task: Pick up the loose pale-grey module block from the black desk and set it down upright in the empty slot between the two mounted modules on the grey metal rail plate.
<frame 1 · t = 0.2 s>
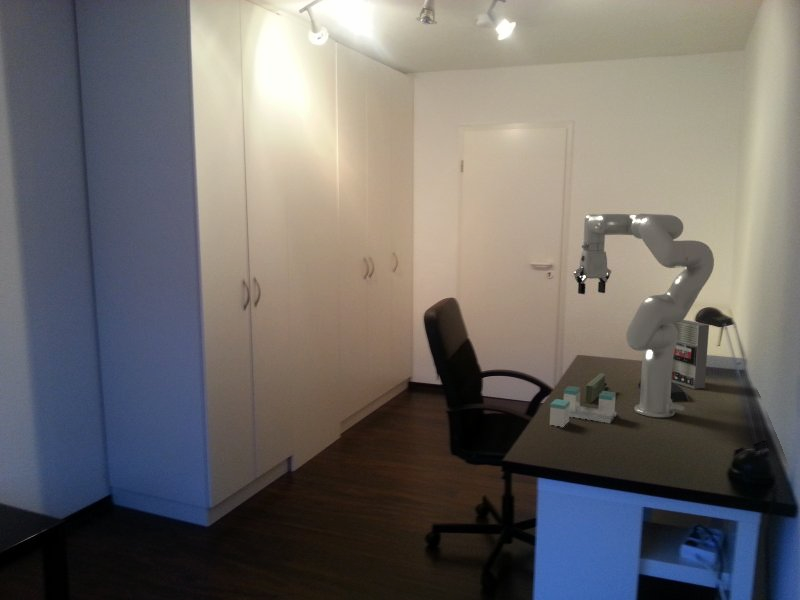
hand: (591, 293, 241), 37 cm above the table, tool pointing down, fingers open, 9 cm apart
external hard drive: (661, 395, 240), on the table
module block: (559, 423, 205), on the table
handheld radio: (596, 395, 239), on the table
grey printed box: (684, 385, 254), on the table
rail plate: (588, 415, 214), on the table
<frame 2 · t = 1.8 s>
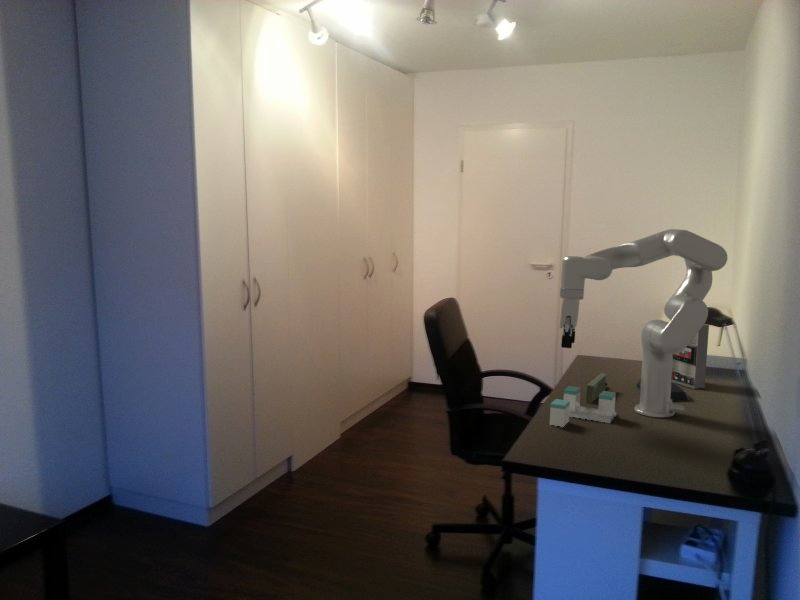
hand: (567, 345, 212), 23 cm above the table, tool pointing down, fingers open, 9 cm apart
nothing on the table moved.
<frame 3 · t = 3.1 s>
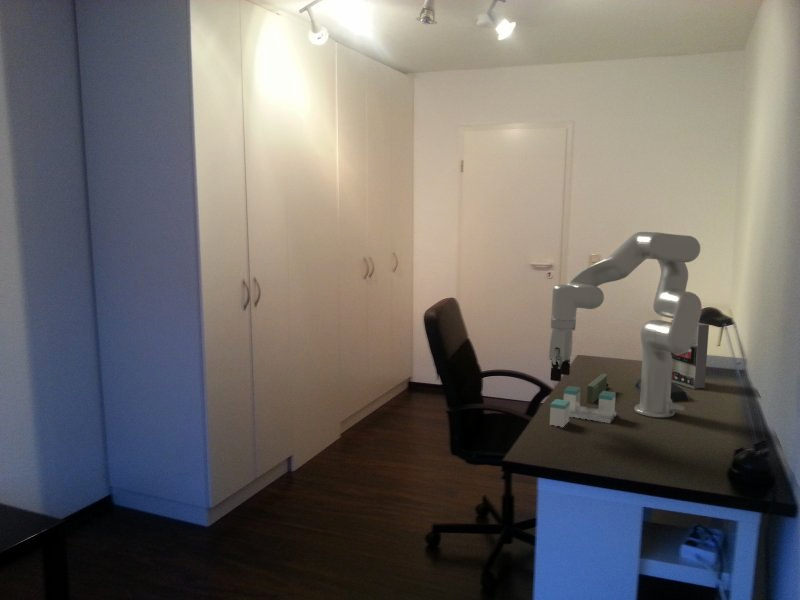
hand: (560, 377, 203), 15 cm above the table, tool pointing down, fingers open, 9 cm apart
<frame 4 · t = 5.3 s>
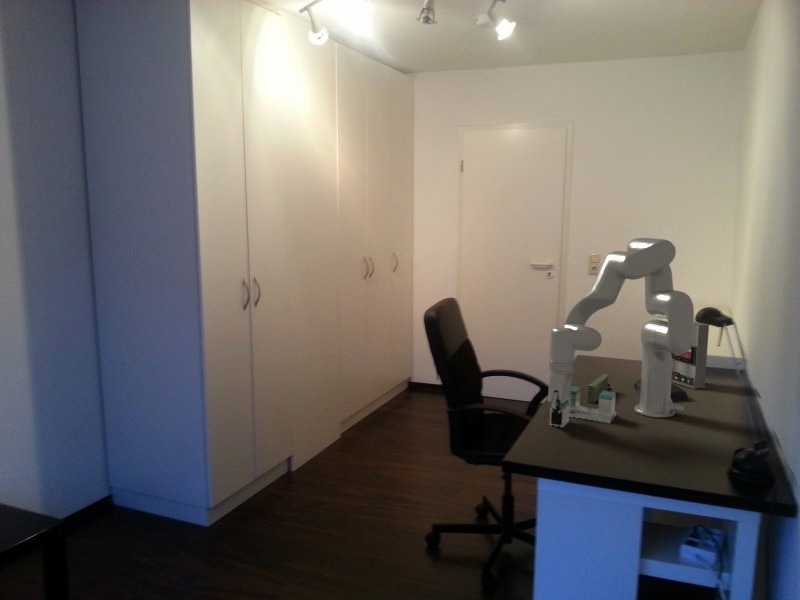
hand: (559, 420, 205), 1 cm above the table, tool pointing down, fingers closed on module block, 6 cm apart
module block: (559, 423, 205), on the table, touching gripper
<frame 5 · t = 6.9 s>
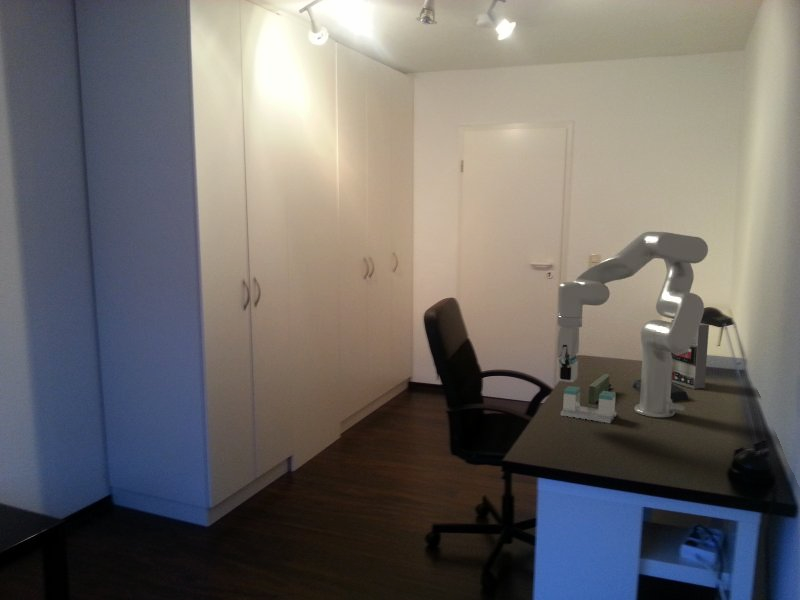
hand: (568, 376, 205), 15 cm above the table, tool pointing down, fingers closed on module block, 6 cm apart
module block: (568, 379, 205), point 14 cm above the table, touching gripper
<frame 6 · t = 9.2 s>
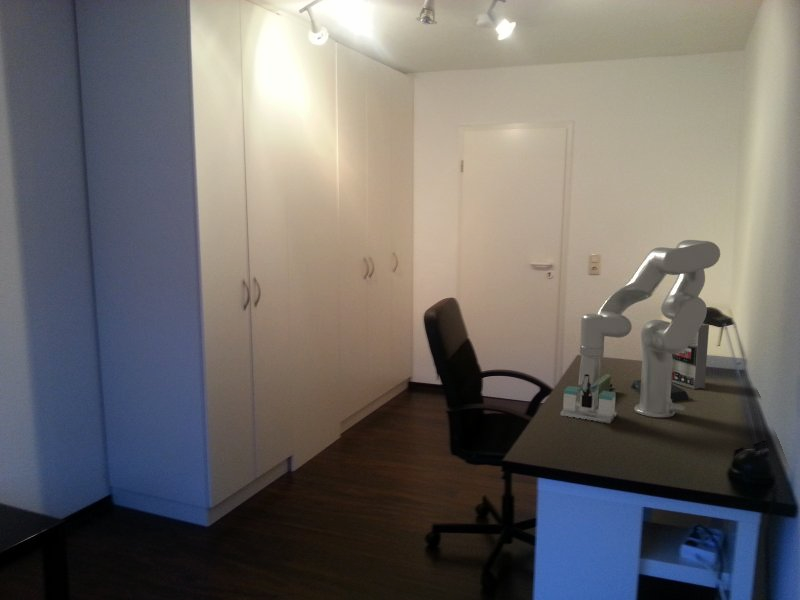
hand: (589, 404, 213), 4 cm above the table, tool pointing down, fingers closed on module block, 6 cm apart
module block: (588, 406, 213), point 3 cm above the table, touching gripper
when the fingers open (4 cm above the table, at t = 9.9 s): module block drops 1 cm, resting on rail plate.
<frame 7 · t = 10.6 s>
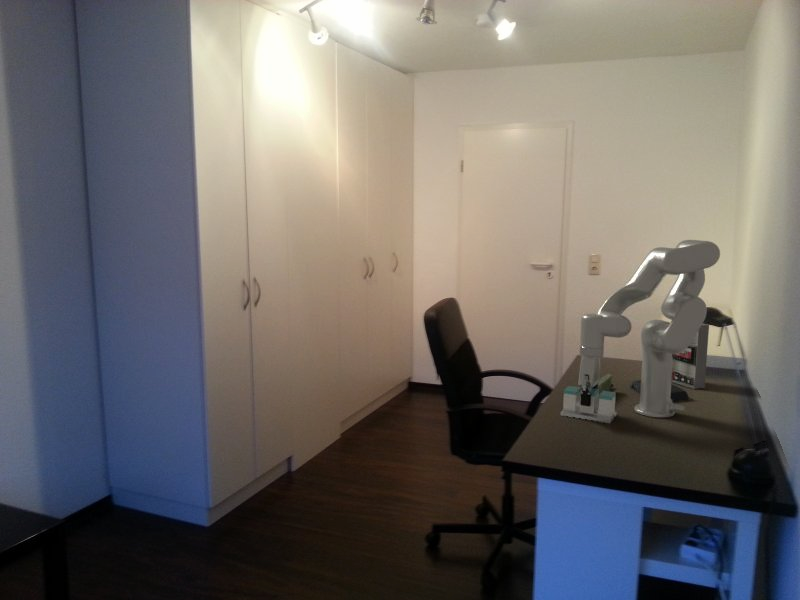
hand: (589, 401, 213), 5 cm above the table, tool pointing down, fingers open, 9 cm apart
module block: (588, 410, 213), point 2 cm above the table, touching rail plate
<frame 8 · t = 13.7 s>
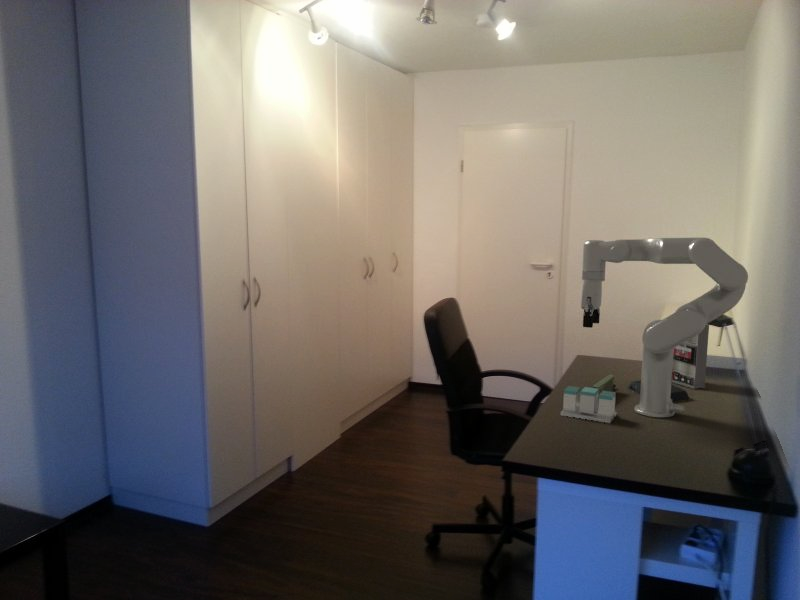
hand: (591, 325, 223), 28 cm above the table, tool pointing down, fingers open, 9 cm apart
at the end: module block 0.0 cm off-centre on the rail plate, point 1.6 cm above the rail plate's base; module block tilted 0°; the gripper is holding nothing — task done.
